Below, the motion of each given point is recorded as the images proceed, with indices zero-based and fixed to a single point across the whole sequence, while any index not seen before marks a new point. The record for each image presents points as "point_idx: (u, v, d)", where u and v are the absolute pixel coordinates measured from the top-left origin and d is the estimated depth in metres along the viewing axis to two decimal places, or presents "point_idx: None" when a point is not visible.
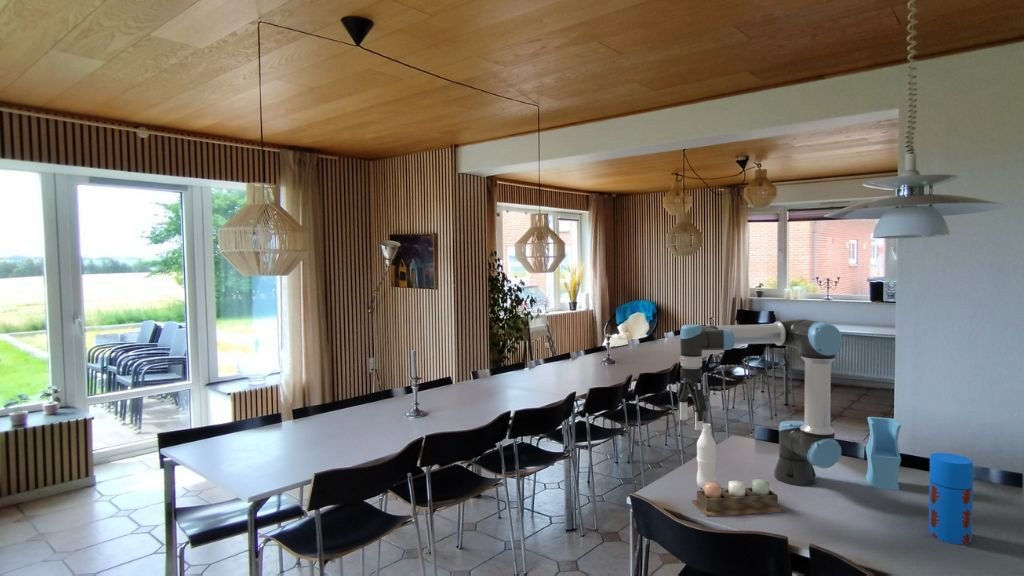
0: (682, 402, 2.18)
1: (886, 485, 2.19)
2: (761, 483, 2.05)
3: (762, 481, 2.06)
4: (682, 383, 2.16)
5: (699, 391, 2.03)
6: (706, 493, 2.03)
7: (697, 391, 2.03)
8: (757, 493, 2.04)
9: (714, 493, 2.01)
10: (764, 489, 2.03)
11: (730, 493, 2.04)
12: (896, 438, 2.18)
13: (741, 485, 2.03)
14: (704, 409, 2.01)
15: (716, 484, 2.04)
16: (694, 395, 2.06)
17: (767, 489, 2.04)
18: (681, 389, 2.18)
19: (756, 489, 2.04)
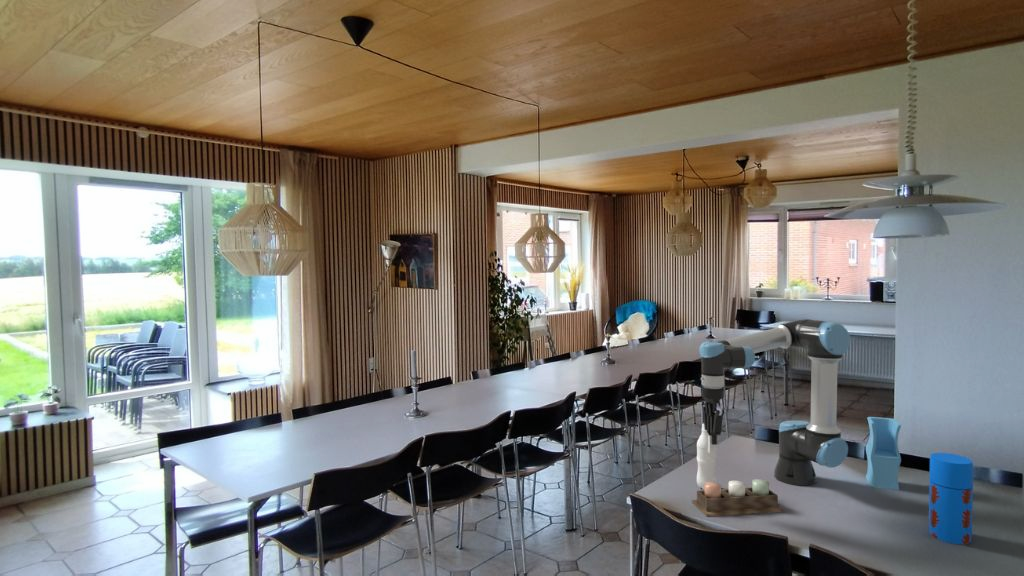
0: None
1: (886, 485, 2.19)
2: (761, 483, 2.05)
3: (762, 481, 2.06)
4: (705, 408, 2.07)
5: (718, 417, 1.98)
6: (706, 493, 2.03)
7: (717, 417, 1.98)
8: (757, 493, 2.04)
9: (714, 493, 2.01)
10: (764, 489, 2.03)
11: (730, 493, 2.04)
12: (896, 438, 2.18)
13: (741, 485, 2.03)
14: (718, 434, 2.00)
15: (716, 484, 2.04)
16: (712, 418, 2.01)
17: (767, 489, 2.04)
18: (706, 416, 2.06)
19: (756, 489, 2.04)
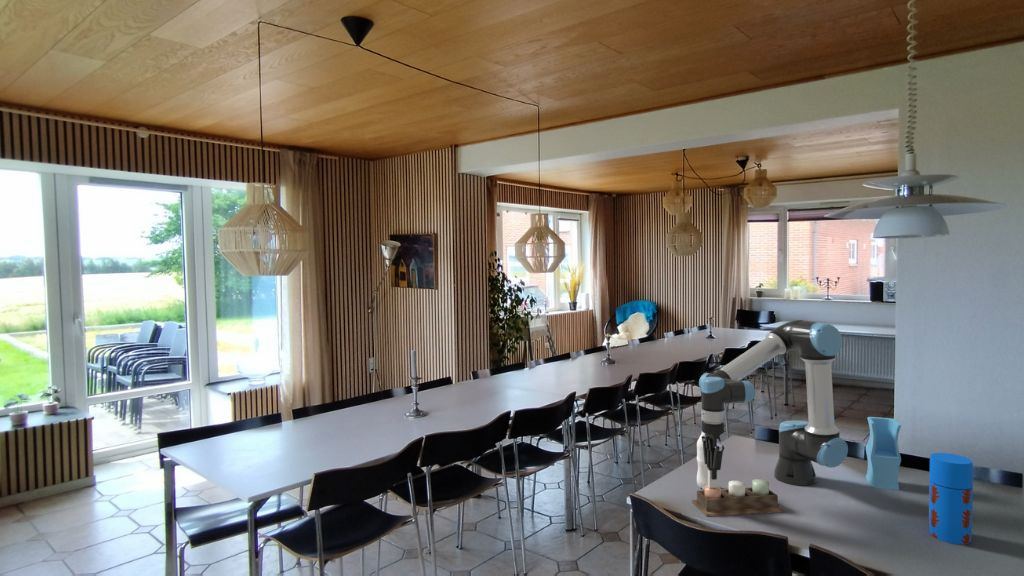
0: None
1: (886, 485, 2.19)
2: (761, 483, 2.05)
3: (762, 481, 2.06)
4: (704, 442, 2.07)
5: (718, 453, 1.98)
6: (706, 496, 2.03)
7: (717, 453, 1.98)
8: (757, 493, 2.04)
9: (714, 496, 2.01)
10: (764, 489, 2.03)
11: (730, 493, 2.04)
12: (896, 438, 2.18)
13: (741, 485, 2.03)
14: (718, 469, 2.00)
15: None
16: (712, 453, 2.01)
17: (767, 489, 2.04)
18: (706, 450, 2.07)
19: (756, 489, 2.04)
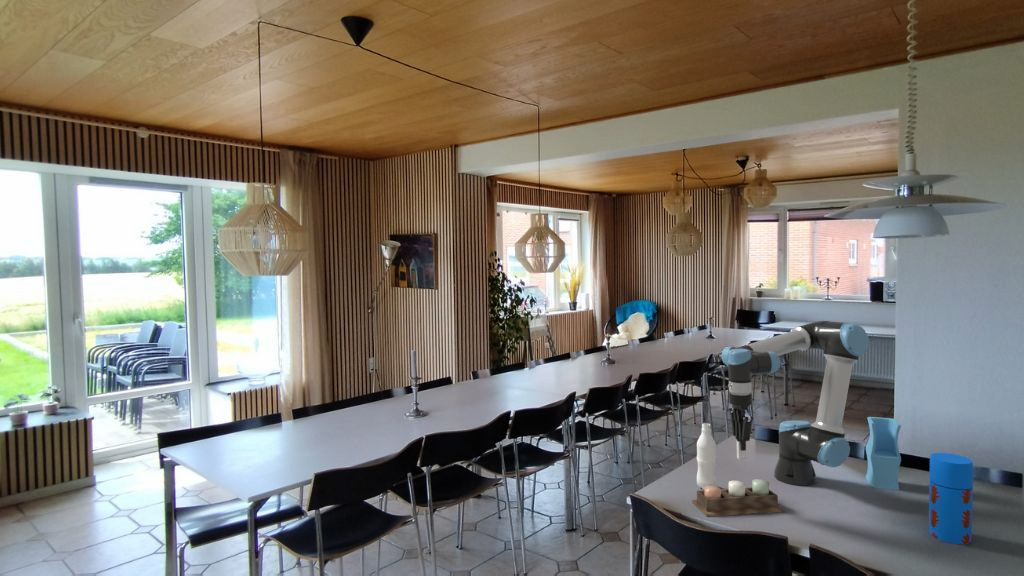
0: None
1: (886, 485, 2.19)
2: (761, 483, 2.05)
3: (762, 481, 2.06)
4: (732, 414, 2.08)
5: (747, 424, 1.99)
6: None
7: (745, 424, 1.99)
8: (757, 493, 2.04)
9: (714, 497, 2.01)
10: (764, 489, 2.03)
11: (730, 493, 2.04)
12: (896, 438, 2.18)
13: (741, 485, 2.03)
14: (747, 440, 2.01)
15: (716, 488, 2.04)
16: (741, 424, 2.02)
17: (767, 489, 2.04)
18: (734, 422, 2.08)
19: (756, 489, 2.04)
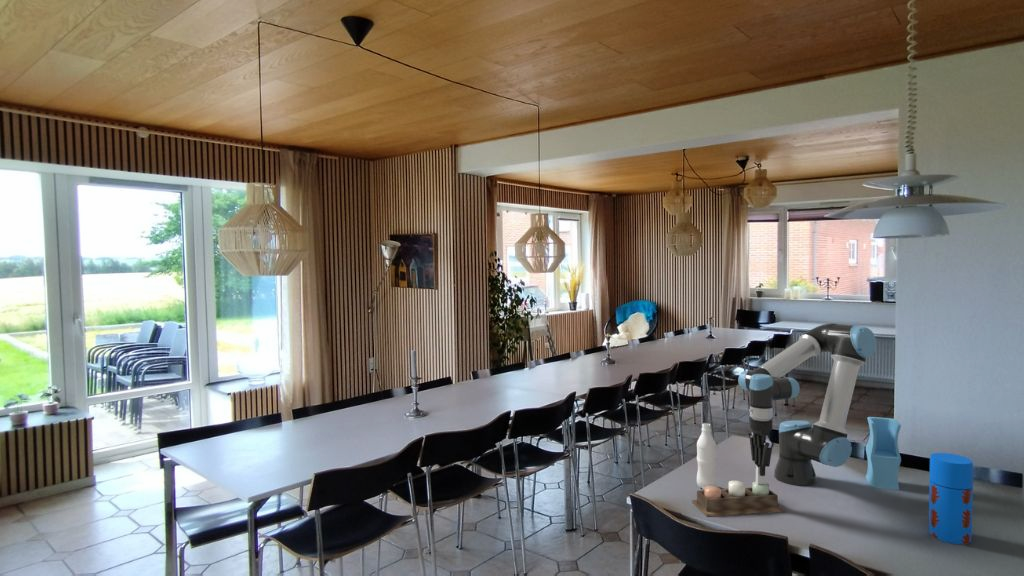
0: None
1: (886, 485, 2.19)
2: (761, 485, 2.05)
3: None
4: (752, 439, 2.09)
5: (768, 449, 2.00)
6: None
7: (766, 449, 2.00)
8: (757, 495, 2.04)
9: (714, 497, 2.01)
10: (764, 491, 2.03)
11: (730, 493, 2.04)
12: (896, 438, 2.18)
13: (741, 485, 2.03)
14: (767, 465, 2.02)
15: (716, 488, 2.04)
16: (761, 450, 2.03)
17: (767, 491, 2.04)
18: (753, 446, 2.09)
19: (756, 491, 2.04)
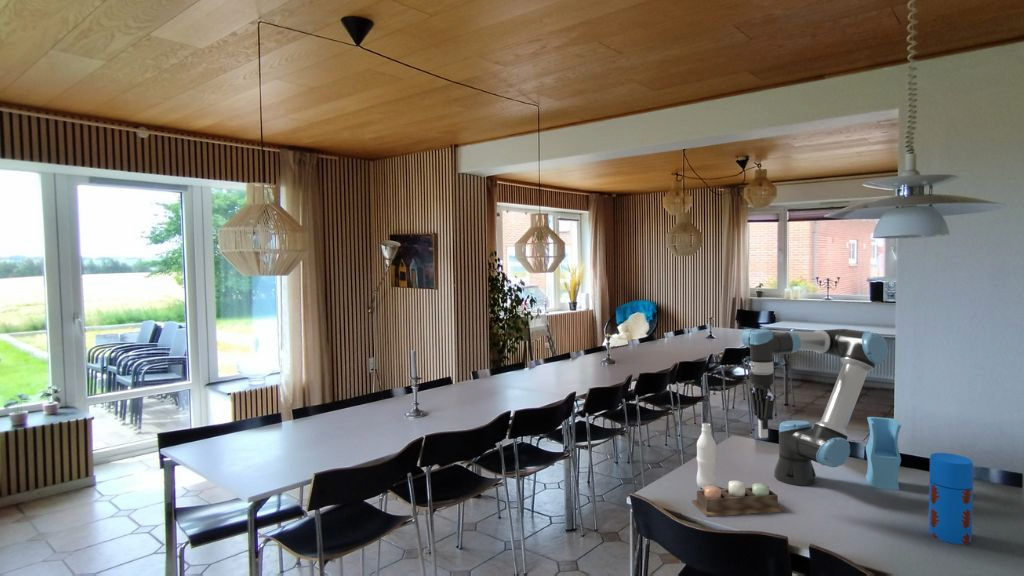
0: None
1: (886, 485, 2.19)
2: (761, 487, 2.05)
3: (762, 485, 2.06)
4: (753, 394, 2.11)
5: (770, 402, 2.02)
6: None
7: (768, 402, 2.02)
8: None
9: (714, 497, 2.01)
10: (764, 493, 2.03)
11: (730, 493, 2.04)
12: (896, 438, 2.18)
13: (741, 485, 2.03)
14: (769, 418, 2.04)
15: (716, 488, 2.04)
16: (763, 403, 2.05)
17: (767, 493, 2.04)
18: (755, 401, 2.11)
19: (756, 493, 2.04)
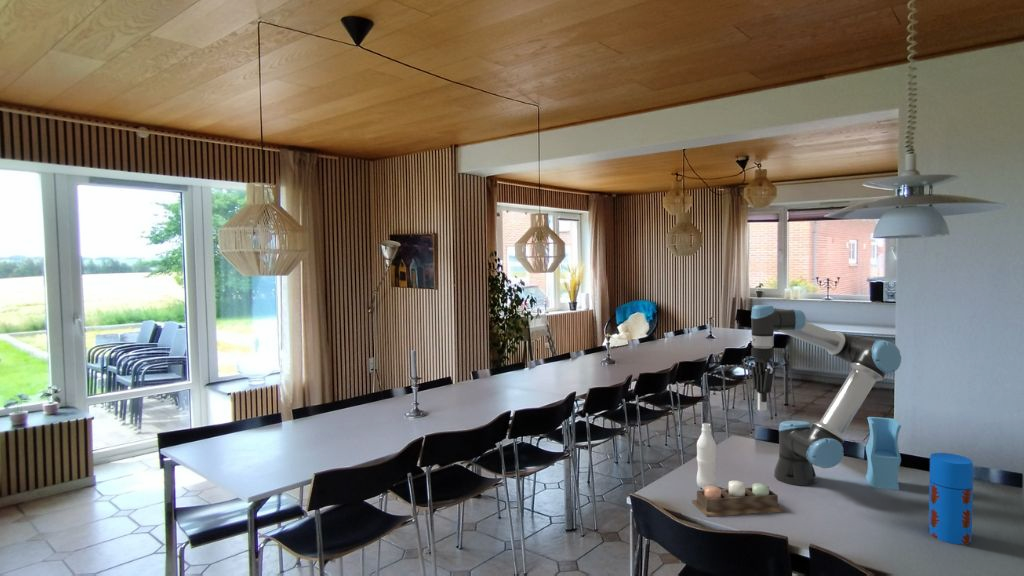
0: None
1: (886, 485, 2.19)
2: (761, 487, 2.05)
3: (762, 485, 2.06)
4: (754, 368, 2.17)
5: (769, 375, 2.08)
6: None
7: (767, 375, 2.07)
8: None
9: (714, 497, 2.01)
10: (764, 493, 2.03)
11: (730, 493, 2.04)
12: (896, 438, 2.18)
13: (741, 485, 2.03)
14: (768, 391, 2.09)
15: (716, 488, 2.04)
16: (763, 377, 2.11)
17: (767, 493, 2.04)
18: (755, 375, 2.16)
19: (756, 493, 2.04)
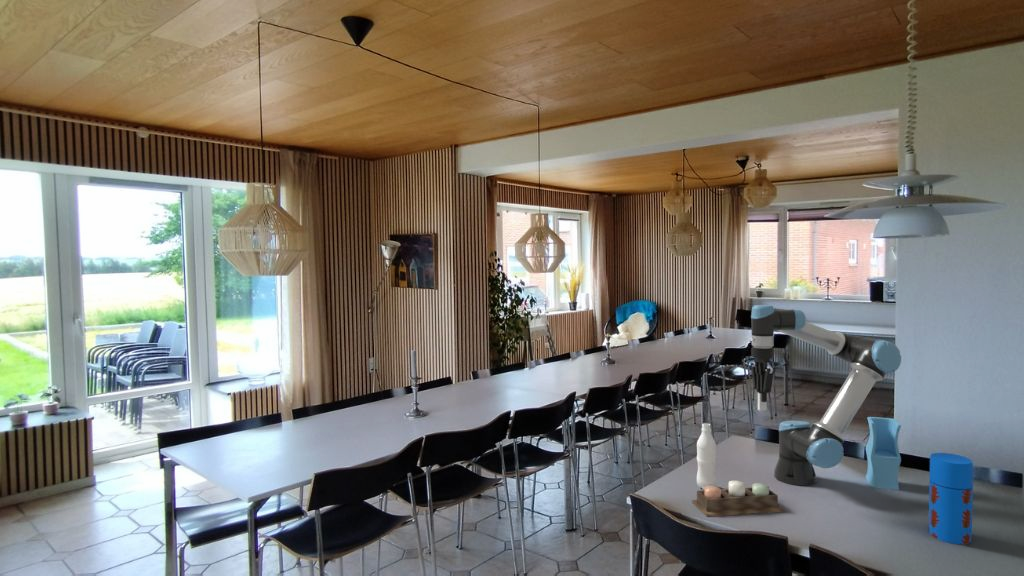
0: None
1: (886, 485, 2.19)
2: (761, 487, 2.05)
3: (762, 485, 2.06)
4: (754, 368, 2.17)
5: (769, 375, 2.08)
6: None
7: (767, 375, 2.07)
8: None
9: (714, 497, 2.01)
10: (764, 493, 2.03)
11: (730, 493, 2.04)
12: (896, 438, 2.18)
13: (741, 485, 2.03)
14: (768, 391, 2.09)
15: (716, 488, 2.04)
16: (763, 377, 2.11)
17: (767, 493, 2.04)
18: (755, 375, 2.16)
19: (756, 493, 2.04)
